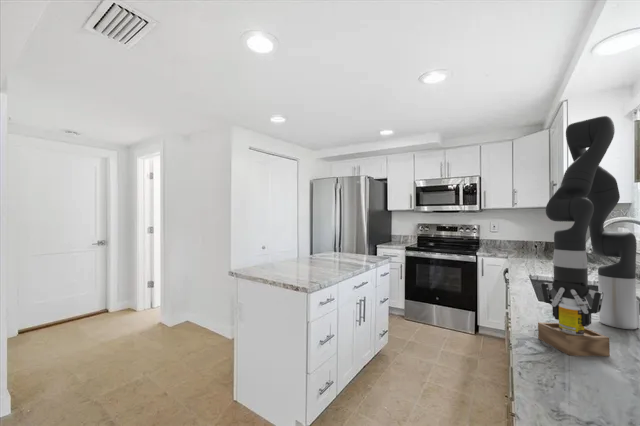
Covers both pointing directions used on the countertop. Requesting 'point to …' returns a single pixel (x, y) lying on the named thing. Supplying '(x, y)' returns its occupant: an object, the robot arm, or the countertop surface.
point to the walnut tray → (574, 341)
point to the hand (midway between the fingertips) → (571, 322)
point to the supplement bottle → (570, 317)
